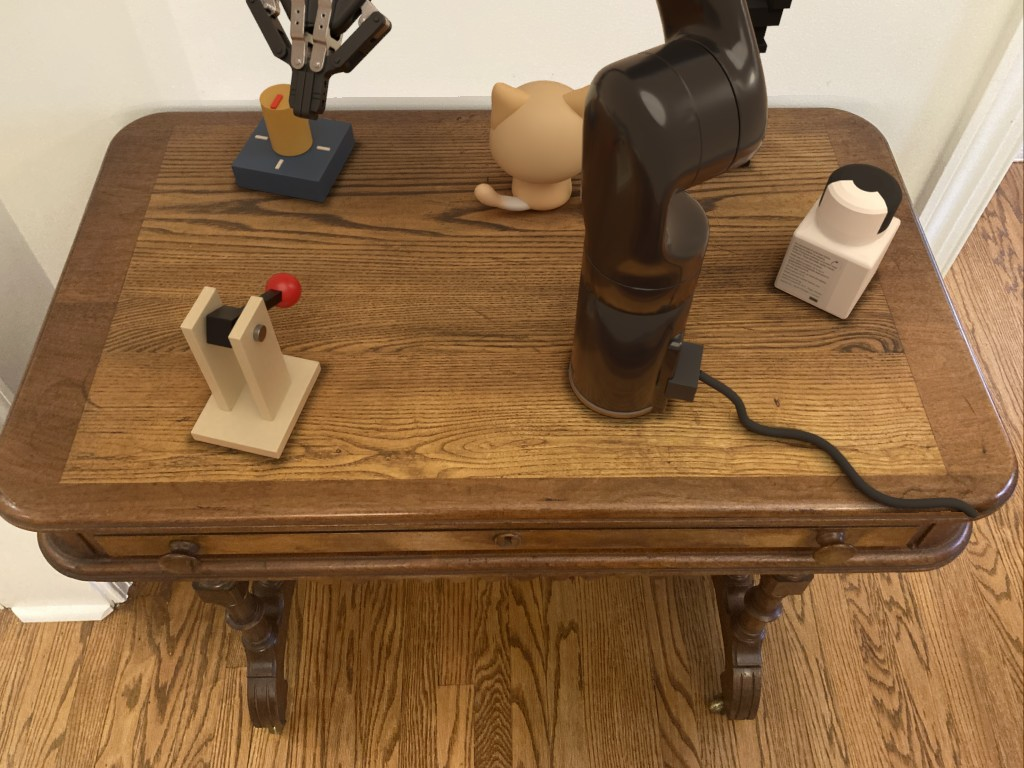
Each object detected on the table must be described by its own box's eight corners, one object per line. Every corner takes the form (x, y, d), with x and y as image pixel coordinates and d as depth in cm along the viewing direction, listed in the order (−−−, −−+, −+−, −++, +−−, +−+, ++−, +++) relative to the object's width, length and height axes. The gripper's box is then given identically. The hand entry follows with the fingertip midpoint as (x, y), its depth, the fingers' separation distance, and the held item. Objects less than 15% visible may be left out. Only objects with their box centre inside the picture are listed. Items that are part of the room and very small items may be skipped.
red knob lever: (274, 298, 80) (275, 265, 78) (306, 305, 79) (308, 272, 78) (200, 346, 68) (199, 309, 67) (237, 354, 67) (237, 317, 66)
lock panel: (355, 144, 98) (351, 121, 95) (323, 203, 92) (318, 180, 90) (274, 130, 99) (267, 107, 97) (237, 187, 94) (230, 164, 91)
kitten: (611, 166, 96) (626, 47, 84) (616, 230, 90) (634, 111, 78) (478, 165, 96) (474, 45, 84) (475, 228, 90) (470, 109, 78)
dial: (280, 127, 95) (267, 78, 90) (318, 133, 94) (307, 84, 89) (265, 153, 92) (251, 104, 87) (304, 159, 92) (292, 110, 87)
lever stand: (241, 352, 81) (203, 257, 70) (321, 369, 79) (294, 275, 69) (194, 439, 75) (144, 350, 64) (279, 459, 74) (242, 372, 63)
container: (803, 242, 90) (844, 142, 79) (874, 274, 87) (925, 175, 76) (771, 287, 86) (809, 188, 75) (844, 322, 83) (894, 224, 73)
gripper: (238, -123, 69) (213, 98, 72) (395, -103, 67) (363, 124, 70) (278, -87, 76) (254, 113, 79) (420, -68, 74) (390, 136, 77)
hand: (305, 117), depth 75 cm, fingers closed
